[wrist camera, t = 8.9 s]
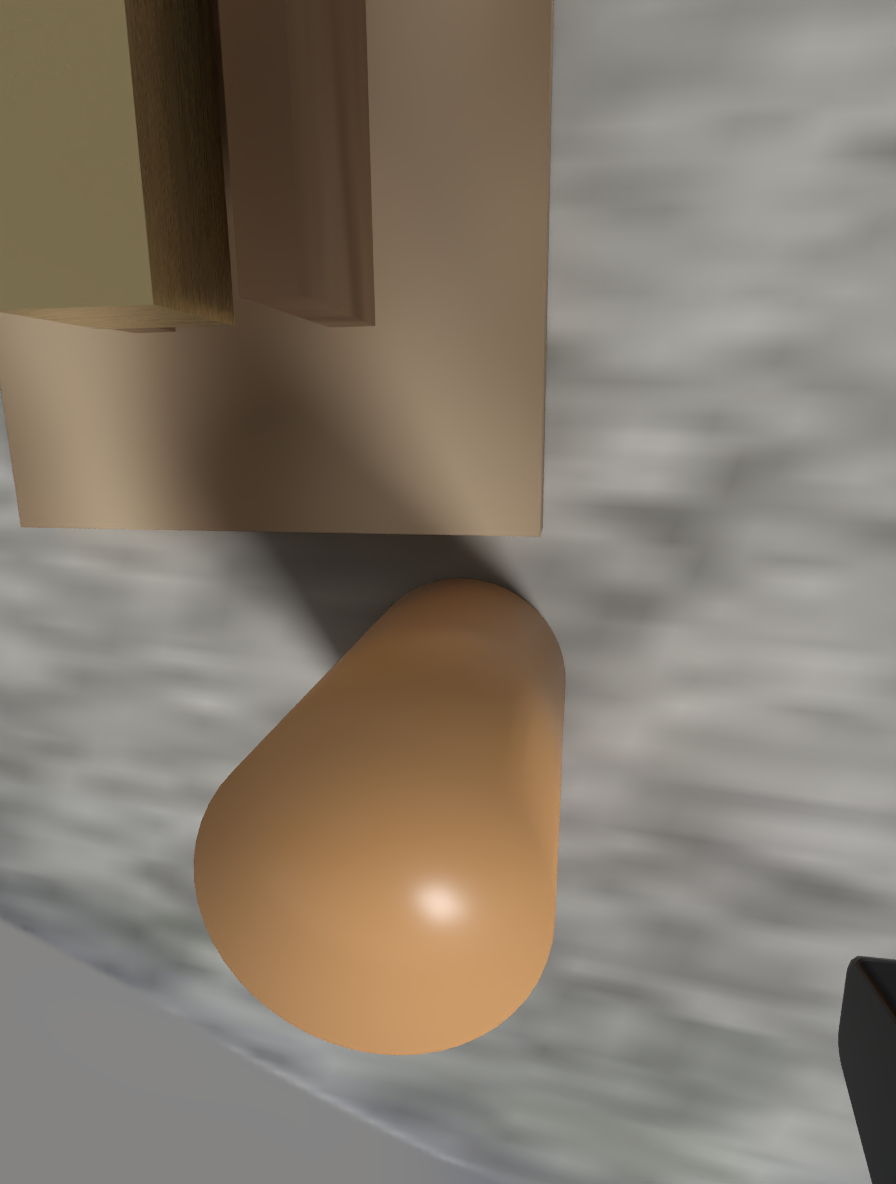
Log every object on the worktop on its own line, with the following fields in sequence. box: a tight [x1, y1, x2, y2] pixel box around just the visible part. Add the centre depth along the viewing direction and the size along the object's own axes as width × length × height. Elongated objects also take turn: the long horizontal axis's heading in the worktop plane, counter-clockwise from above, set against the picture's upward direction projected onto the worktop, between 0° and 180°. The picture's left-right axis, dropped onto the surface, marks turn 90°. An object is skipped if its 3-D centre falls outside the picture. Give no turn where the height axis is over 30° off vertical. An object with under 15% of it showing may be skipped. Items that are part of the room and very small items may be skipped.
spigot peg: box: [194, 578, 565, 1055], centre depth 11 cm, size 4×4×7 cm
